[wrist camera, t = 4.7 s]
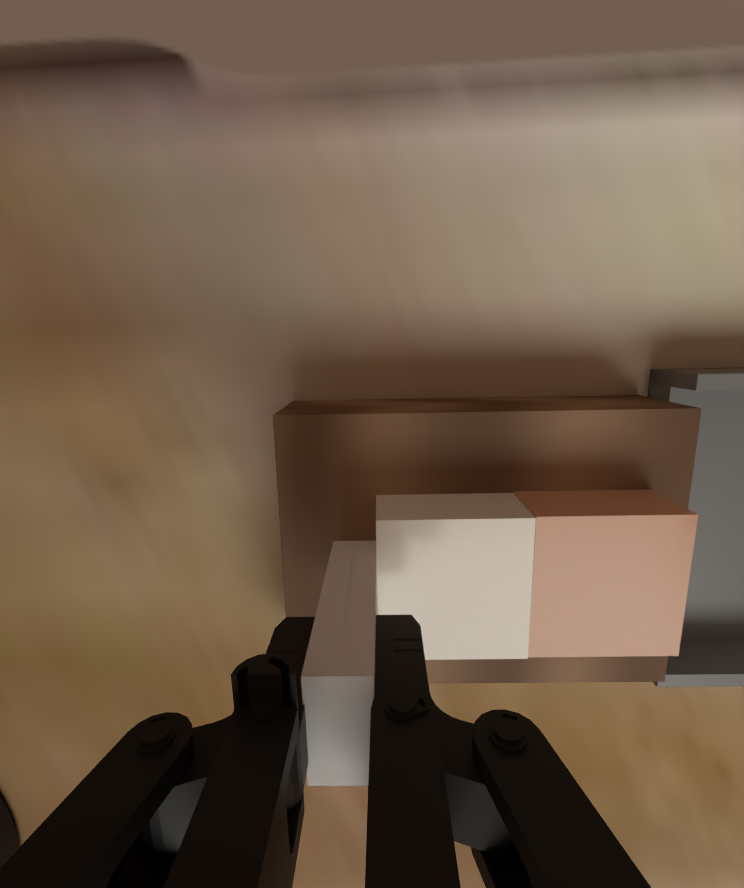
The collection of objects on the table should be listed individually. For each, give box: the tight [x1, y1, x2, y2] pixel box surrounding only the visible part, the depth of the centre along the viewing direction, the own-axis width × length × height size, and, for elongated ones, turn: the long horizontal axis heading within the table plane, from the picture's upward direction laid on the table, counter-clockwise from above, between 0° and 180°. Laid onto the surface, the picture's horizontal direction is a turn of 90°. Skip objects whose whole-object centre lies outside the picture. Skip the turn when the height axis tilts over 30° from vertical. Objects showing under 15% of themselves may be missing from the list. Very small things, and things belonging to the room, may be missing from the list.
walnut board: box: [273, 395, 702, 683], centre depth 19 cm, size 15×11×4 cm
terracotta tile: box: [514, 490, 698, 657], centre depth 16 cm, size 5×5×2 cm
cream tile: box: [376, 493, 536, 660], centre depth 16 cm, size 5×5×2 cm
